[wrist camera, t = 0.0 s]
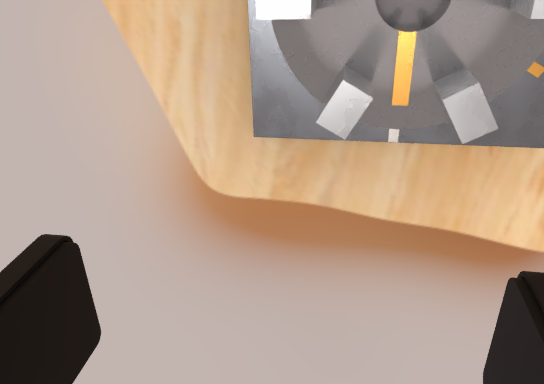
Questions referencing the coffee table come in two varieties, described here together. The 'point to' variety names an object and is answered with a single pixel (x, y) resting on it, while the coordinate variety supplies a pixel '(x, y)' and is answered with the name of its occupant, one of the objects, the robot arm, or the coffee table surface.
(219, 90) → the coffee table surface
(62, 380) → the robot arm
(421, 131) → the base plate
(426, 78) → the gear wheel
